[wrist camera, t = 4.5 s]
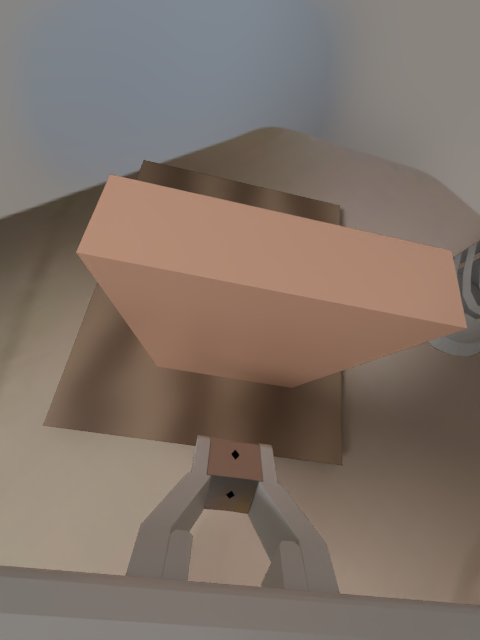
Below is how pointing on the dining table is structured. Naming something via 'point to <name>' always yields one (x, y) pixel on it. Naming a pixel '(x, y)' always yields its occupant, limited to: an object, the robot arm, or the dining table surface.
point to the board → (189, 387)
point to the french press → (465, 307)
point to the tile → (262, 286)
